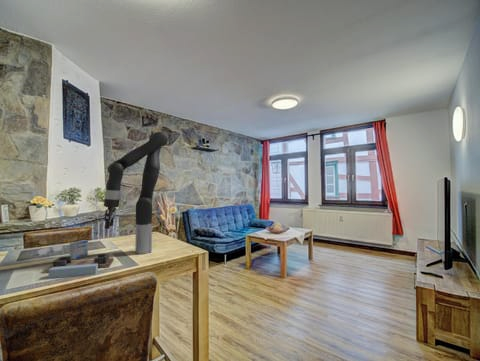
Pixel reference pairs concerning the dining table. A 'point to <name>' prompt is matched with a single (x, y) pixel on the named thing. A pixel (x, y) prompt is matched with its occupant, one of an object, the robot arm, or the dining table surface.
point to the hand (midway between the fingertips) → (109, 227)
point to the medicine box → (78, 249)
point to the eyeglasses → (46, 250)
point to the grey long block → (73, 270)
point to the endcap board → (102, 261)
